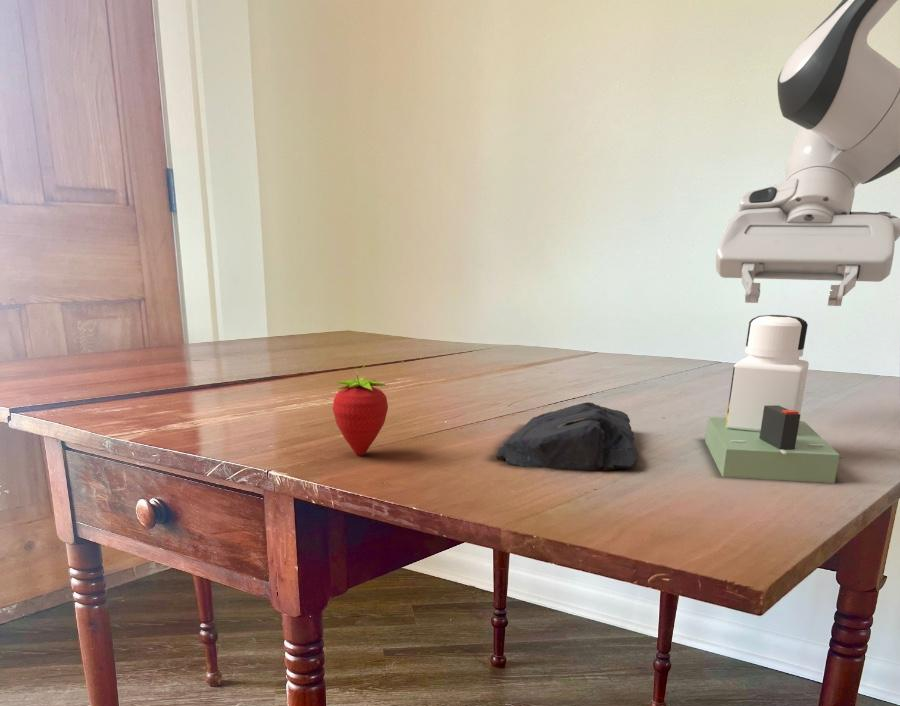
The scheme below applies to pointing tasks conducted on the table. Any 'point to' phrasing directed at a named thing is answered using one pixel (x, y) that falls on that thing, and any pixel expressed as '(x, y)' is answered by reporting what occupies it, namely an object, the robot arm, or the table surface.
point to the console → (770, 454)
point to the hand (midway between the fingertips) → (792, 300)
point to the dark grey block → (779, 426)
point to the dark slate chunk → (573, 440)
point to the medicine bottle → (768, 371)
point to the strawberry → (360, 412)
